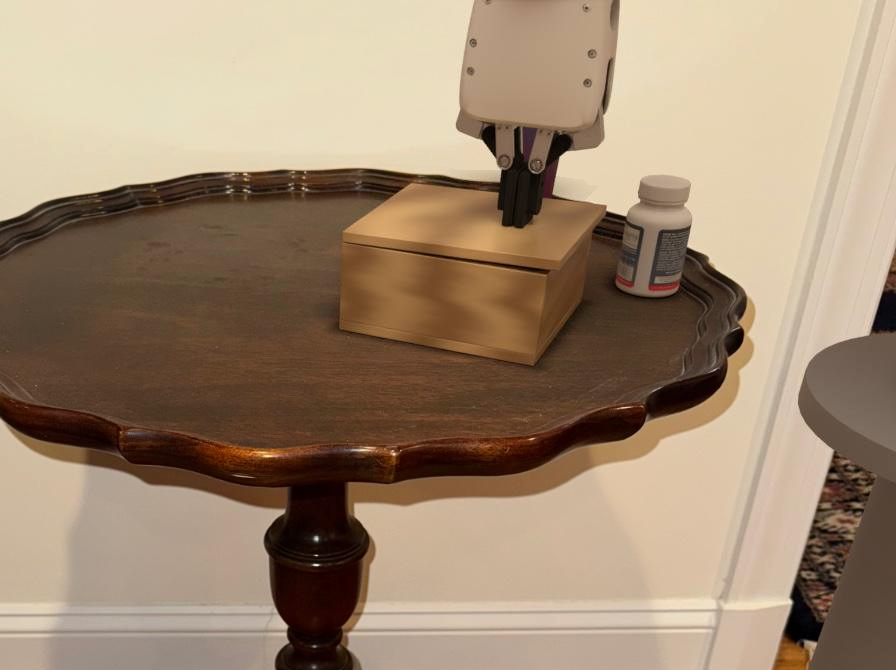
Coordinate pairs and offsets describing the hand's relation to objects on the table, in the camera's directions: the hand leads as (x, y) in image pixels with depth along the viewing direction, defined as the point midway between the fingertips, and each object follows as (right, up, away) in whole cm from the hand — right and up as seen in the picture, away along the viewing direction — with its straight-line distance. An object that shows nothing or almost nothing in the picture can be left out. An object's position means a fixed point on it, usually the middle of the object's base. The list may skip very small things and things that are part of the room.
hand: (517, 221), depth 85 cm
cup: (+7, +12, +31) cm, 34 cm away
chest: (-3, -6, +6) cm, 9 cm away
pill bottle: (+13, -2, +11) cm, 18 cm away
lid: (-3, 0, +2) cm, 3 cm away
